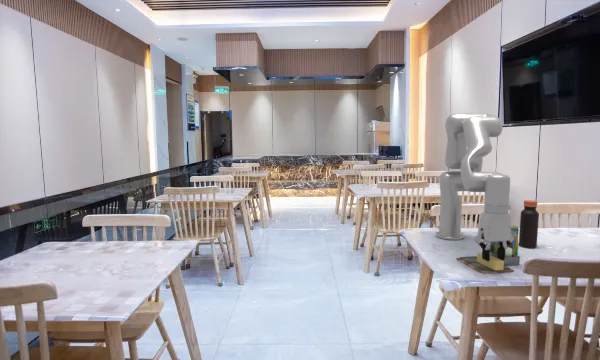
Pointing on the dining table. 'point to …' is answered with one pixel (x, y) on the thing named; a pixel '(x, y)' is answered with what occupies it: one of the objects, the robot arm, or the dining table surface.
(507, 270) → the slate board
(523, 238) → the bottle
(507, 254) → the button cap
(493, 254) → the button housing
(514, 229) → the chalk box
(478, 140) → the robot arm
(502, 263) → the chalk stick
